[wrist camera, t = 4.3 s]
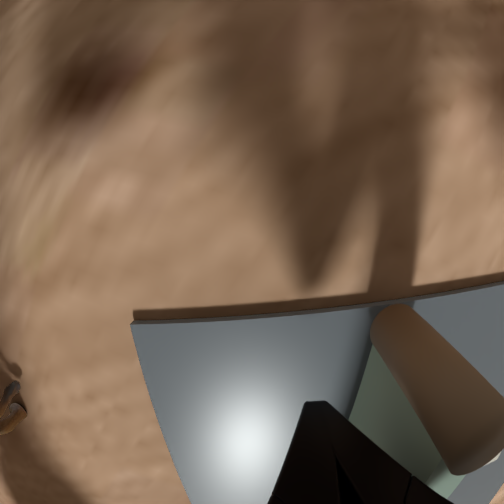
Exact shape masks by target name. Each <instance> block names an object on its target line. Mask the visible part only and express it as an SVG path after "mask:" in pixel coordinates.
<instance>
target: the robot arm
mask: <svg viewBox="0 0 504 504" xmlns="http://www.w3.org/2000/svg"><path fill="white" fill-rule="evenodd" d="M267 504H454V503H452V502H451V501H449V500H448V499H446V498H444V497H443V496H441V495H440V494H438V493H437V492H435V491H434V490H433V489H431V488H430V487H428V486H427V485H426V484H424V483H423V482H422V481H421V480H419V479H418V478H417V477H416V476H412V473H410V472H409V471H408V470H407V469H405V468H404V467H403V466H402V465H401V464H399V463H398V462H397V461H396V460H394V459H393V458H392V457H391V456H390V455H388V454H387V453H386V452H385V451H384V450H382V449H381V448H380V447H379V446H378V445H377V444H375V443H374V442H373V441H372V440H371V439H369V438H368V437H367V436H366V435H365V434H364V433H362V432H361V431H360V430H359V429H358V428H357V427H356V426H354V425H353V424H352V423H351V422H350V421H349V420H348V419H346V418H345V417H344V416H343V415H342V414H341V413H340V412H339V411H337V410H336V409H335V408H334V407H333V406H332V405H331V404H330V403H329V402H327V401H325V400H320V401H306V402H305V403H304V405H303V408H302V411H301V414H300V417H299V420H298V423H297V426H296V429H295V432H294V435H293V438H292V440H291V443H290V446H289V449H288V452H287V454H286V457H285V460H284V463H283V465H282V468H281V471H280V473H279V476H278V478H277V481H276V484H275V486H274V489H273V491H272V494H271V496H270V498H269V501H268V503H267Z"/></svg>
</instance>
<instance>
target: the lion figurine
mask: <svg viewBox="0 0 504 504" xmlns="http://www.w3.org/2000/svg"><path fill="white" fill-rule="evenodd" d="M19 389H20V384H19V382H18V381H14V382H12V383H11V384H10V385H9V386H8V387H6V389H5V391H4V394H3V397H2V399H1V401H0V419H1V417H2V416H3V414H4V412H5V411H6V409H7V407H8V405H9V403H10V401H11V399H12V398H13V396H14V395H16V394H17V393H19ZM9 409H10V415H9V416H7V417H6V418H4V419H2V420H1V421H0V435H3V434H6V433H10V432H12V431H13V430H14V428H15V427H16V426H17V424H18V423H20V422H21V421H22V420H23V419H24V418H26V416H27V414H26V412H25V410H24V409H23V407H21V406H20V405H19V404H17V403H12V404H11V405H10V407H9Z"/></svg>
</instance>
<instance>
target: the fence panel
mask: <svg viewBox="0 0 504 504" xmlns="http://www.w3.org/2000/svg"><path fill="white" fill-rule="evenodd" d="M370 339H371V342H372V348H371V351H370V355H369V358H368V362H367V365H366V368H365V372H364V375H363V378H362V381H361V385H360V388H359V391H358V394H357V397H356V400H355V403H354V406H353V409H352V412H351V414H350V417H349V421H350V422H351V423H352V424H353V425H354V426H356V427H357V428H358V429H359V430H360V431H361V432H362V433H364V434H365V435H366V436H367V437H368V438H369V439H371V440H372V441H373V442H374V443H375V444H377V445H378V446H379V447H380V448H381V449H382V450H384V451H385V452H386V453H387V454H388V455H390V456H391V457H392V458H393V459H394V460H396V461H397V462H398V463H399V464H401V465H402V466H403V467H404V468H405V469H407V470H408V471H409V472H410V473H412V476H416V477H417V478H418V479H419V480H421V481H422V482H423V483H424V484H426V485H427V486H428V487H430V488H431V489H433V490H434V491H435V492H437V493H438V494H440V495H441V496H443V497H444V498H446V499H447V498H448V497H449V496H450V495H451V494H452V492H453V491H454V490H455V489H456V487H457V486H458V485H459V483H460V482H461V481H462V479H463V478H464V477H465V475H466V474H469V473H471V472H473V471H476V470H477V469H479V468H481V467H483V466H484V465H486V464H487V463H488V462H490V461H491V460H492V459H493V458H495V457H496V456H497V455H498V454H499V453H500V452H501V451H502V450H503V449H504V397H503V396H502V395H501V394H500V393H499V392H498V391H497V390H496V389H495V388H494V387H493V386H492V385H491V384H490V383H489V382H488V381H487V380H486V379H485V378H484V377H483V376H482V375H481V374H480V373H479V372H478V371H477V370H476V369H475V368H474V367H473V366H472V365H471V364H470V363H469V362H468V361H467V360H466V359H465V358H464V357H463V356H462V355H461V354H460V353H459V352H458V351H457V350H456V349H455V348H454V347H453V346H452V345H451V344H450V343H449V342H448V341H447V340H446V339H445V338H444V337H443V336H442V335H440V334H439V333H438V332H437V331H436V330H435V329H434V328H433V327H432V326H431V325H430V324H429V323H428V322H427V321H426V320H424V319H423V318H422V317H421V316H420V315H419V314H418V313H417V312H416V311H415V310H414V309H412V308H411V307H410V306H408V305H406V304H393V305H390V306H388V307H386V308H385V309H383V310H382V311H381V312H380V313H379V314H378V315H377V316H376V317H375V319H374V321H373V323H372V325H371V328H370Z"/></svg>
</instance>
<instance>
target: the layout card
mask: <svg viewBox="0 0 504 504" xmlns="http://www.w3.org/2000/svg"><path fill="white" fill-rule="evenodd" d="M393 304H406V305H408V306H410V307H411V308H412V309H414V310H415V311H416V312H417V313H418V314H419V315H420V316H421V317H422V318H423V319H424V320H426V321H427V322H428V323H429V324H430V325H431V326H432V327H433V328H434V329H435V330H436V331H437V332H438V333H439V334H440V335H442V336H443V337H444V338H445V339H446V340H447V341H448V342H449V343H450V344H451V345H452V346H453V347H454V348H455V349H456V350H457V351H458V352H459V353H460V354H461V355H462V356H463V357H464V358H465V359H466V360H467V361H468V362H469V363H470V364H471V365H472V366H473V367H474V368H475V369H476V370H477V371H478V372H479V373H480V374H481V375H482V376H483V377H484V378H485V379H486V380H487V381H488V382H489V383H490V384H491V385H492V386H493V387H494V388H495V389H496V390H497V391H498V392H499V393H500V394H501V395H502V396H503V397H504V281H501V282H496V283H491V284H486V285H480V286H475V287H470V288H464V289H459V290H453V291H447V292H441V293H435V294H429V295H422V296H416V297H409V298H402V299H396V300H388V301H381V302H374V303H366V304H358V305H350V306H341V307H332V308H323V309H314V310H304V311H293V312H282V313H270V314H258V315H245V316H230V317H214V318H195V319H173V320H142V321H133V322H132V323H131V324H130V326H131V331H132V335H133V339H134V342H135V346H136V350H137V354H138V357H139V361H140V365H141V368H142V372H143V375H144V379H145V382H146V385H147V388H148V392H149V395H150V398H151V401H152V404H153V407H154V410H155V413H156V416H157V419H158V422H159V425H160V428H161V431H162V433H163V436H164V439H165V442H166V444H167V447H168V449H169V452H170V455H171V457H172V460H173V462H174V465H175V467H176V470H177V472H178V475H179V477H180V479H181V482H182V484H183V486H184V489H185V491H186V493H187V495H188V498H189V500H190V502H191V504H267V503H268V501H269V498H270V496H271V494H272V491H273V489H274V486H275V484H276V481H277V478H278V476H279V473H280V471H281V468H282V465H283V463H284V460H285V457H286V454H287V452H288V449H289V446H290V443H291V440H292V438H293V435H294V432H295V429H296V426H297V423H298V420H299V417H300V414H301V411H302V408H303V405H304V403H305V402H306V401H320V400H325V401H327V402H329V403H330V404H331V405H332V406H333V407H334V408H335V409H336V410H337V411H339V412H340V413H341V414H342V415H343V416H344V417H345V418H346V419H348V420H349V417H350V414H351V412H352V409H353V406H354V403H355V400H356V397H357V394H358V391H359V388H360V385H361V381H362V378H363V375H364V372H365V368H366V365H367V362H368V358H369V355H370V351H371V348H372V342H371V339H370V328H371V325H372V323H373V321H374V319H375V317H376V316H377V315H378V314H379V313H380V312H381V311H382V310H383V309H385V308H386V307H388V306H390V305H393ZM503 483H504V449H503V450H502V451H501V452H500V453H499V454H498V455H497V456H496V457H495V458H493V459H492V460H491V461H490V462H488V463H487V464H486V465H484V466H483V467H481V468H479V469H477V470H476V471H473V472H471V473H469V474H466V475H465V477H464V478H463V479H462V481H461V482H460V483H459V485H458V486H457V487H456V489H455V490H454V491H453V492H452V494H451V495H450V496H449V497H448V498H447V499H448V500H449V501H451V502H452V503H454V504H489V503H490V501H491V500H492V499H493V497H494V496H495V494H496V493H497V492H498V490H499V489H500V487H501V486H502V484H503Z"/></svg>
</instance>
